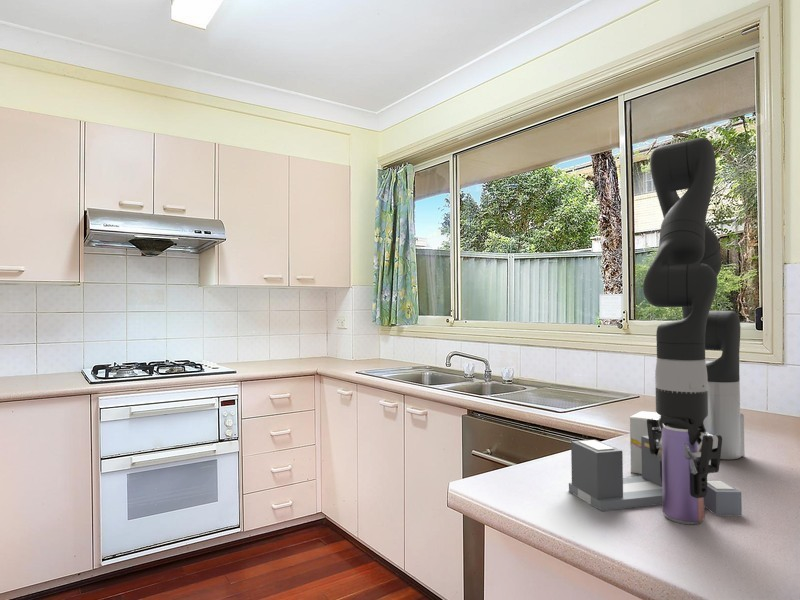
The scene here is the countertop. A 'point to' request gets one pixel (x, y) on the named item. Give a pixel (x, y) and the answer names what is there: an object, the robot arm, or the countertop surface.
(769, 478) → the countertop surface
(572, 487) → the grey u-shaped block
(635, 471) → the ink box
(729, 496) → the block
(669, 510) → the beverage can
